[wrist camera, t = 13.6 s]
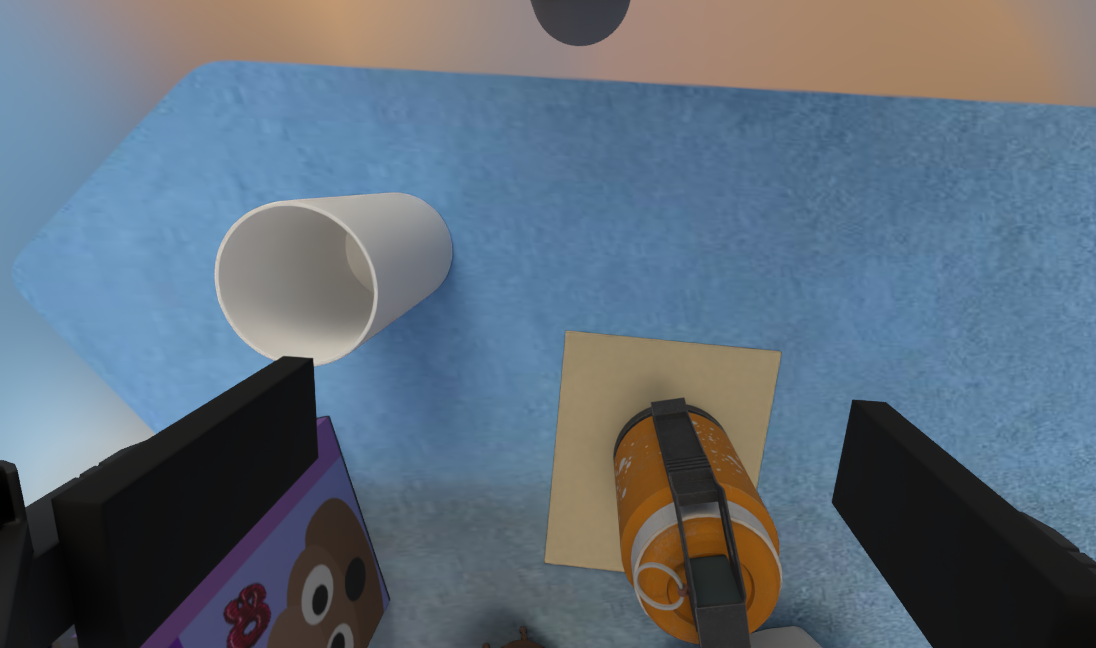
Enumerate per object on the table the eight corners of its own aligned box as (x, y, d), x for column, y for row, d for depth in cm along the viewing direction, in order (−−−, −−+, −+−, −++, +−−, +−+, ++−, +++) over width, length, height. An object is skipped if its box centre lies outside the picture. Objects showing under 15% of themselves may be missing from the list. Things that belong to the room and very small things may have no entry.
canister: (622, 511, 48) (643, 737, 29) (600, 382, 46) (606, 534, 26) (735, 497, 47) (836, 721, 28) (719, 365, 45) (817, 508, 25)
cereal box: (390, 599, 52) (226, 941, 29) (339, 607, 52) (138, 949, 29) (329, 415, 48) (83, 638, 25) (274, 426, 49) (-15, 653, 25)
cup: (462, 207, 43) (391, 223, 28) (441, 314, 45) (364, 385, 30) (353, 180, 43) (221, 182, 28) (337, 288, 46) (206, 345, 30)
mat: (566, 330, 45) (565, 331, 45) (780, 351, 44) (781, 352, 44) (544, 560, 50) (544, 563, 50) (737, 583, 49) (738, 585, 49)
